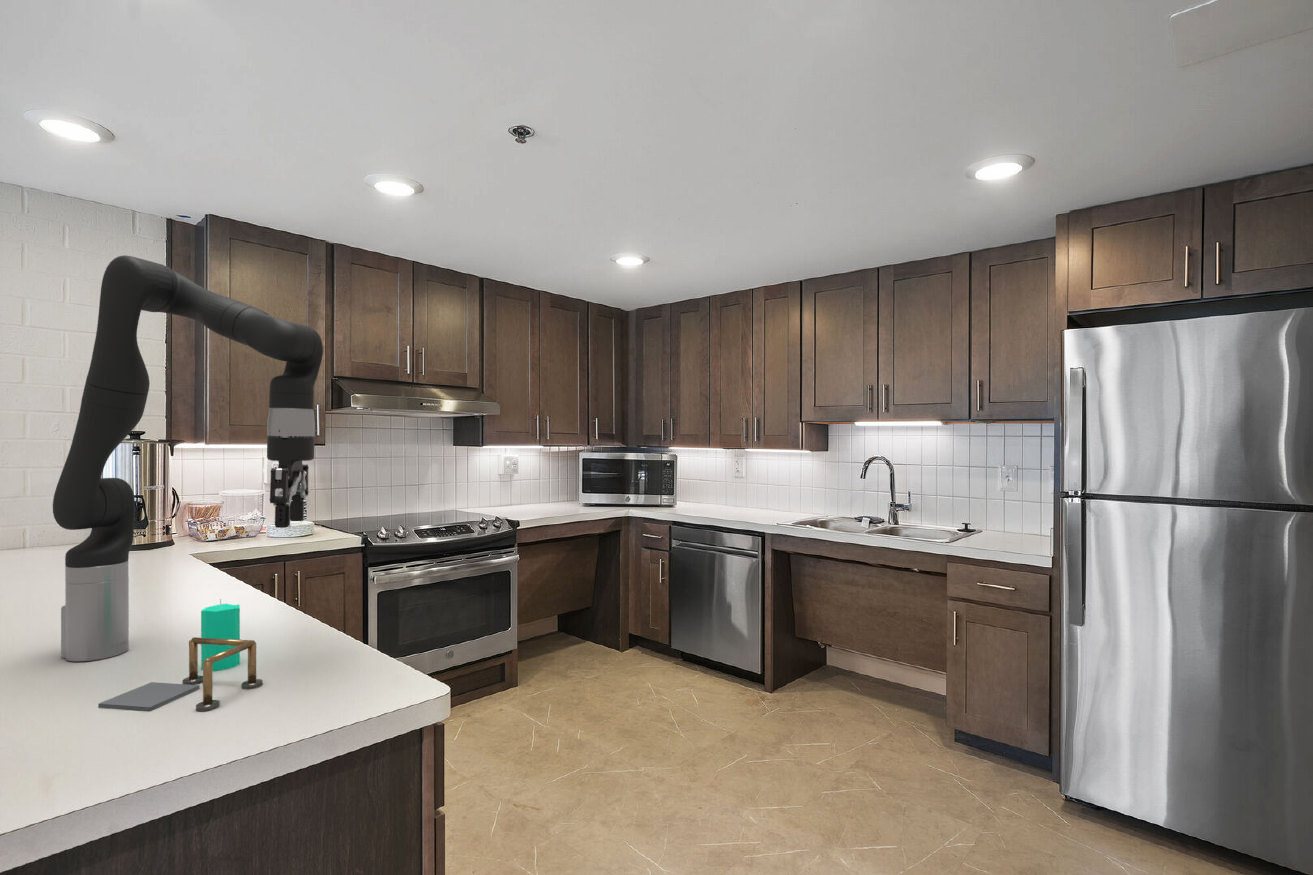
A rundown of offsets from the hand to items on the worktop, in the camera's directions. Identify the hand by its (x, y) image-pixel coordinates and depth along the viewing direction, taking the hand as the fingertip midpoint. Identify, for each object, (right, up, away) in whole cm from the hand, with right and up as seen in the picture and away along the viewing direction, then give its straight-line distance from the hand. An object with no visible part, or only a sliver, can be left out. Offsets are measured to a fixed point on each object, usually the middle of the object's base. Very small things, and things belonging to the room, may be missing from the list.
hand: (289, 523), depth 121 cm
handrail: (-7, -26, -14) cm, 30 cm away
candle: (-12, -26, 0) cm, 28 cm away
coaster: (-14, -26, -15) cm, 33 cm away
